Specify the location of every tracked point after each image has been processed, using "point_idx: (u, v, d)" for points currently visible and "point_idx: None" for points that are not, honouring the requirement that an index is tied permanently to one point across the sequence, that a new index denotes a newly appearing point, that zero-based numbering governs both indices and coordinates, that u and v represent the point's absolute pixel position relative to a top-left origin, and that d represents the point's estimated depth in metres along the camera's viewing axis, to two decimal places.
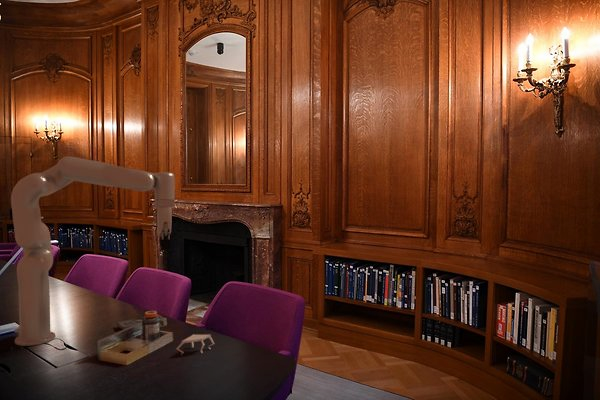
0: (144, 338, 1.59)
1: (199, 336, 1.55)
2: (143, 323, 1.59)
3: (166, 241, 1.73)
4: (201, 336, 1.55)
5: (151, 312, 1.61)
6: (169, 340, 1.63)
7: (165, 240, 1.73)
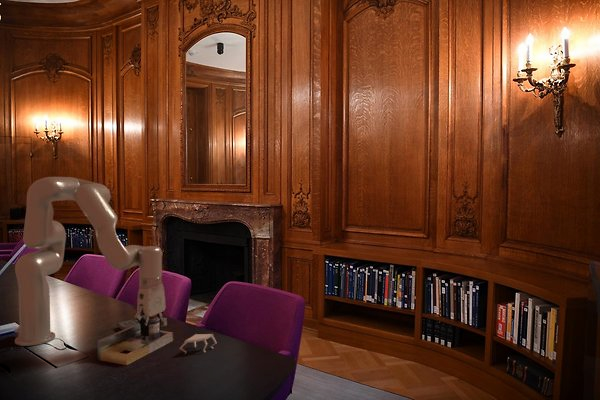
0: (144, 338, 1.59)
1: (202, 336, 1.56)
2: None
3: None
4: (204, 336, 1.56)
5: None
6: (169, 340, 1.63)
7: None
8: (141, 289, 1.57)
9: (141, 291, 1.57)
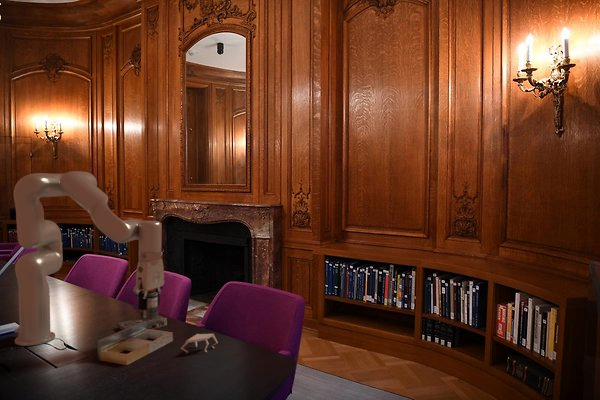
0: (142, 312, 1.59)
1: (203, 335, 1.56)
2: None
3: None
4: (205, 335, 1.56)
5: None
6: (169, 340, 1.63)
7: None
8: (140, 263, 1.57)
9: (140, 264, 1.56)
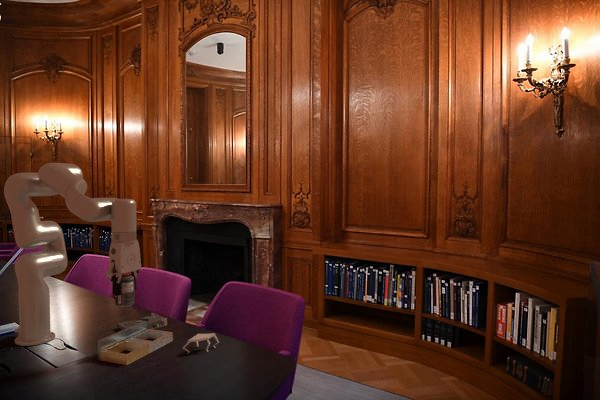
0: (117, 297, 1.47)
1: (204, 335, 1.56)
2: None
3: None
4: (206, 335, 1.57)
5: None
6: (169, 340, 1.63)
7: None
8: (113, 244, 1.44)
9: (113, 246, 1.44)
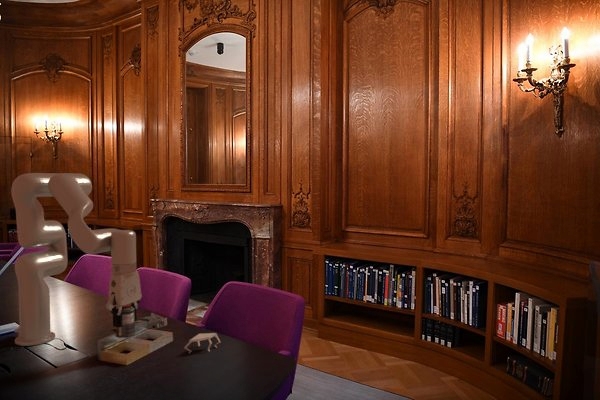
0: (117, 329, 1.47)
1: (206, 335, 1.57)
2: None
3: None
4: (208, 335, 1.57)
5: None
6: (169, 340, 1.63)
7: None
8: (113, 276, 1.45)
9: (113, 278, 1.44)
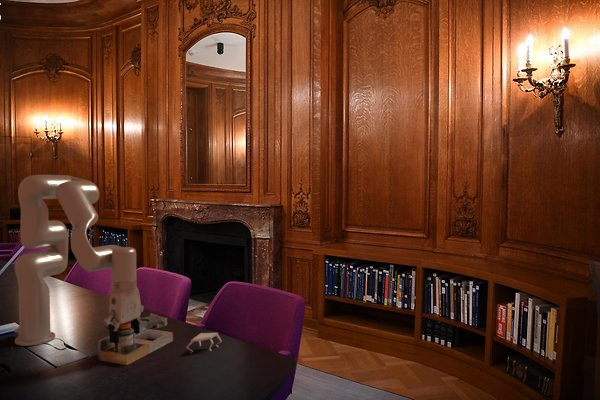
0: (116, 351, 1.47)
1: (207, 334, 1.57)
2: None
3: None
4: (209, 334, 1.57)
5: (124, 323, 1.49)
6: (169, 340, 1.63)
7: None
8: (113, 294, 1.45)
9: (113, 296, 1.45)
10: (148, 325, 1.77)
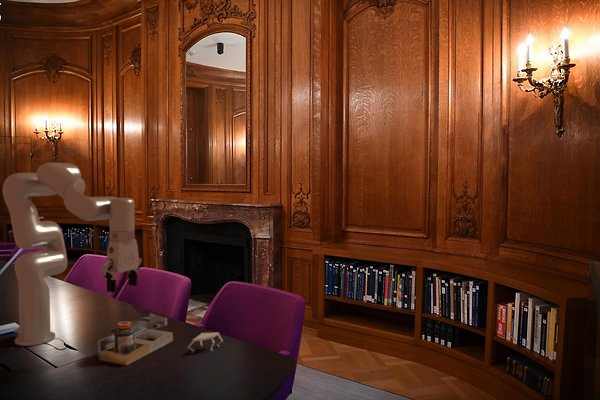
0: (116, 351, 1.47)
1: (208, 334, 1.57)
2: (115, 335, 1.47)
3: None
4: (210, 334, 1.57)
5: (124, 323, 1.49)
6: (169, 340, 1.63)
7: None
8: (111, 243, 1.44)
9: (111, 245, 1.44)
10: (148, 325, 1.77)
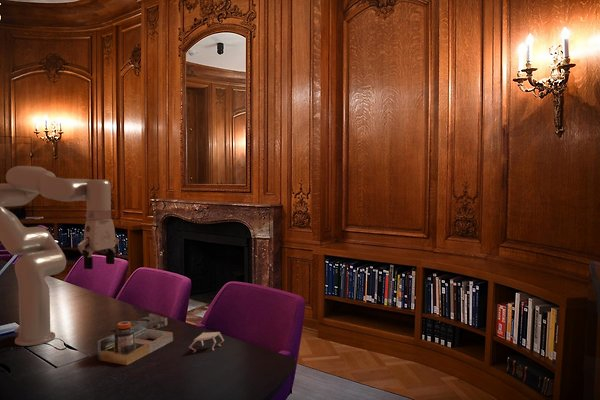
0: (116, 351, 1.47)
1: (210, 334, 1.58)
2: (115, 335, 1.47)
3: None
4: (212, 334, 1.58)
5: (124, 323, 1.49)
6: (169, 340, 1.63)
7: None
8: (88, 222, 1.51)
9: (88, 224, 1.51)
10: (149, 325, 1.77)
